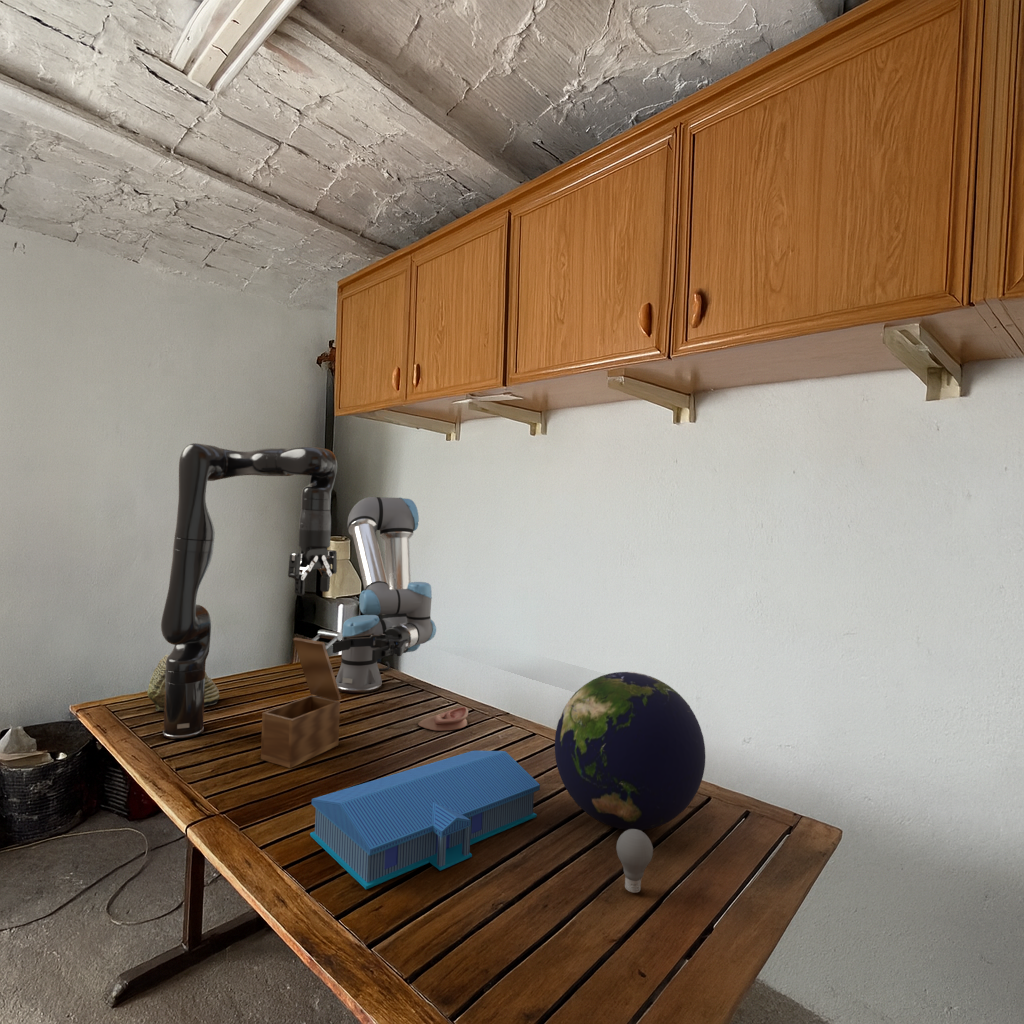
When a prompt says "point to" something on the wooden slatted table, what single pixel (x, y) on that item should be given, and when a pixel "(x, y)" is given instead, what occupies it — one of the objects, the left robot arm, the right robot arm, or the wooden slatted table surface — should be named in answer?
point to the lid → (318, 664)
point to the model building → (423, 815)
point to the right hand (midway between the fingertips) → (353, 651)
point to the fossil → (158, 687)
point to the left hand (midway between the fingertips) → (312, 593)
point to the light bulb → (634, 857)
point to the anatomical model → (446, 720)
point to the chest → (300, 730)
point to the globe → (630, 751)
